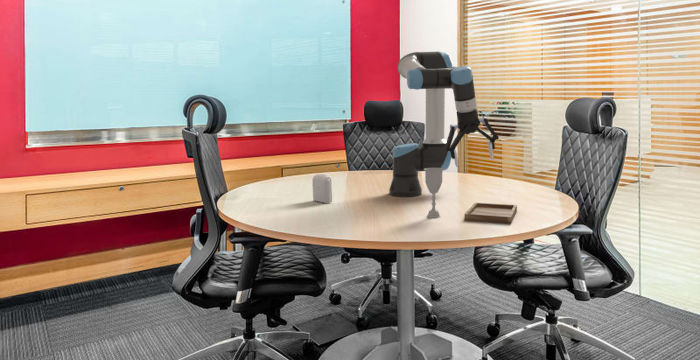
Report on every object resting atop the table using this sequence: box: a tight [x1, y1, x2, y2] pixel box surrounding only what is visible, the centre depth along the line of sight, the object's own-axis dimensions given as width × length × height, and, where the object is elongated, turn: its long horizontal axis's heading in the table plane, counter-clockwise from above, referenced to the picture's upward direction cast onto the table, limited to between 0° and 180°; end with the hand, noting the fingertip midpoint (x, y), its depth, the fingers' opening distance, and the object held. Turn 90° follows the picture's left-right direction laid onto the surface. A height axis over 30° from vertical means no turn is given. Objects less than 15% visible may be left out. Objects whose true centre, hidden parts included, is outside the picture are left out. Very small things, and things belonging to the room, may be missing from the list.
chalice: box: [424, 168, 445, 219], centre depth 188 cm, size 7×7×18 cm
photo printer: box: [311, 173, 333, 204], centre depth 221 cm, size 10×4×12 cm, turn 39°
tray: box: [463, 202, 518, 225], centre depth 189 cm, size 22×16×2 cm
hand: (474, 161), depth 195 cm, fingers open, 13 cm apart
